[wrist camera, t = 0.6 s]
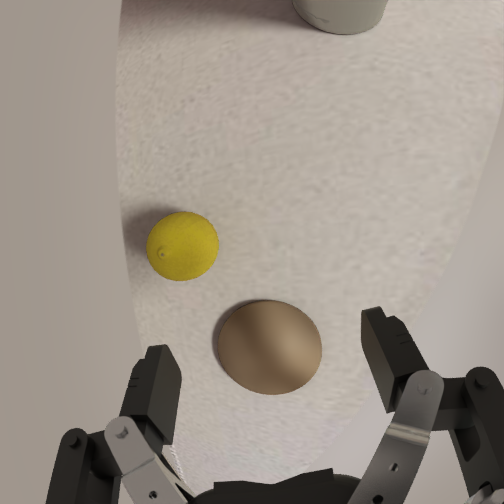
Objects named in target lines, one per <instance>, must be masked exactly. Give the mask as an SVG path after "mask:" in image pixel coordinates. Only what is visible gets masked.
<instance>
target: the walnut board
mask: <svg viewBox="0 0 504 504" xmlns="http://www.w3.org/2000/svg"><path fill="white" fill-rule="evenodd" d="M218 354H219V358H220V361H221V363H222V366H223V367H224V369H225V371H226V372H227V373H228V375H229V376H230V377H231V378H232V379H233V380H234V381H235V382H237V383H238V384H239V385H241V386H242V387H244V388H246V389H248V390H250V391H253V392H256V393H260V394H267V395H278V394H285V393H289V392H292V391H294V390H296V389H298V388H300V387H302V386H303V385H305V384H306V383H307V382H308V381H309V380H310V379H311V378H312V377H313V376H314V374H315V373H316V371H317V369H318V367H319V364H320V361H321V356H322V344H321V338H320V335H319V332H318V330H317V328H316V326H315V325H314V323H313V322H312V320H311V319H310V318H309V317H308V316H307V315H306V314H305V313H304V312H302V311H301V310H299V309H298V308H296V307H294V306H292V305H290V304H287V303H284V302H279V301H272V300H263V301H256V302H253V303H249V304H247V305H245V306H243V307H241V308H239V309H238V310H236V311H235V312H234V313H233V314H232V315H231V316H230V317H229V318H228V320H227V321H226V322H225V324H224V325H223V327H222V329H221V331H220V335H219V338H218Z"/></svg>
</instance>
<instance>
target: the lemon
mask: <svg viewBox="0 0 504 504" xmlns="http://www.w3.org/2000/svg"><path fill="white" fill-rule="evenodd" d="M218 249H219V240H218V236H217V232H216V231H215V229H214V227H213V225H212V224H211V223H210V222H209V221H208V220H207V219H205V218H204V217H202V216H201V215H198V214H195V213H192V212H178V213H174V214H170V215H168V216H166V217H165V218H163V219H161V220H160V221H159V222H158V223H157V224H156V225H155V226H154V227H153V229H152V230H151V232H150V234H149V236H148V239H147V245H146V251H147V257H148V259H149V262H150V264H151V266H152V267H153V269H154V270H155V271H156V272H157V273H158V274H159V275H161V276H163V277H165V278H167V279H170V280H174V281H187V280H191V279H194V278H197V277H199V276H200V275H202V274H204V273H205V272H206V271H207V270H208V269H209V268H210V267H211V266H212V265H213V263H214V261H215V259H216V257H217V254H218Z"/></svg>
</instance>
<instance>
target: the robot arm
mask: <svg viewBox="0 0 504 504" xmlns="http://www.w3.org/2000/svg"><path fill="white" fill-rule="evenodd" d="M292 1H293V5H294V7H295V9H296V11H297V12H298V14H299V15H300V16H301V17H302V18H303V19H304V20H305V21H307V22H308V23H309V24H311V25H313V26H314V27H316V28H318V29H321V30H324V31H326V32H331V33H335V34H357V33H361V32H365V31H367V30H369V29H371V28H373V27H374V26H375V25H376V24H377V23H378V22H379V21H380V19H381V18H382V15H383V13H384V10H385V7H386V4H387V1H388V0H292ZM361 343H362V348H363V351H364V354H365V356H366V359H367V362H368V364H369V367H370V369H371V372H372V375H373V377H374V380H375V383H376V385H377V388H378V390H379V393H380V396H381V399H382V402H383V404H384V407H385V410H386V413H390V412H394V411H395V414H394V416H393V419H392V421H391V423H390V425H389V427H388V428H387V429H386V432H385V433H384V436H383V438H382V440H381V442H380V444H379V446H378V448H377V450H376V452H375V454H374V456H373V458H372V460H371V462H370V464H369V466H368V468H367V470H366V472H365V474H364V475H363V477H362V479H359V478H356V477H353V476H349V475H341V474H333V469H332V468H329V469H325V470H319V471H314V472H309V473H303V474H300V475H297V476H295V477H292V478H290V479H287V480H284V481H281V482H279V483H276V484H263V483H255V482H248V481H227V482H214V489H211V490H208V491H205V492H203V493H201V494H199V495H198V496H196V495H195V494H194V492H193V491H192V490H191V489H190V488H189V487H188V486H187V485H186V484H185V483H184V481H183V480H182V479H181V477H180V476H179V475H178V473H177V472H176V470H175V469H174V468H173V466H172V465H171V464H170V462H169V461H168V459H167V458H166V456H165V455H164V454H163V452H162V448H163V445H172V443H173V436H174V429H175V422H176V415H177V408H178V401H179V395H180V388H181V382H182V376H181V371H180V368H179V366H178V364H177V362H176V360H175V358H174V357H173V355H172V353H171V351H170V349H169V347H168V346H167V345H166V344H164V345H156V346H149V347H148V349H147V352H146V355H145V359H140V360H139V361H138V362H137V364H136V365H135V366H134V368H133V370H132V373H131V376H130V380H129V383H128V388H127V390H126V394H125V397H124V401H123V404H122V407H121V411H120V415H119V417H117V418H115V419H113V420H111V421H110V422H109V424H108V425H107V426H106V428H105V430H103V431H100V432H96V433H92V434H87V433H86V432H85V431H83V430H82V429H80V428H74V429H71V430H69V431H67V432H66V433H65V435H64V436H63V437H62V439H61V443H60V446H59V450H58V454H57V457H56V461H55V465H54V469H53V473H52V477H51V482H50V486H49V490H48V495H47V500H46V504H118V499H119V491H120V483H121V480H122V483H123V484H124V486H125V488H126V490H127V492H128V494H129V495H130V497H131V499H132V500H133V502H134V504H403V502H404V500H405V498H406V496H407V494H408V492H409V489H410V487H411V485H412V483H413V480H414V478H415V476H416V473H417V471H418V469H419V466H420V464H421V461H422V459H423V456H424V454H425V451H426V448H427V445H428V443H429V439H430V437H429V436H430V433H431V431H441V430H448V431H449V434H450V437H451V439H452V442H453V445H454V448H455V451H456V454H457V457H458V460H459V464H460V467H461V470H462V473H463V476H464V480H465V483H466V486H467V490H468V494H469V499H468V500H467V501H466V502H465V503H464V504H504V389H503V387H502V385H501V383H500V381H499V379H498V378H497V376H496V374H495V373H494V372H493V371H492V370H491V369H489V368H486V367H476V368H473V369H471V370H470V371H469V372H468V373H467V375H466V377H462V378H442V377H441V376H440V375H439V374H437V373H436V372H434V371H431V370H429V368H428V366H427V364H426V362H425V361H424V359H423V357H422V355H421V353H420V351H419V350H418V348H417V346H416V344H415V342H414V341H413V339H412V337H411V335H410V334H409V331H408V330H407V328H406V326H405V324H404V323H403V322H402V321H401V320H399V319H398V318H397V317H395V316H390V317H386V316H385V314H384V312H383V310H382V308H381V307H380V306H378V307H374V308H370V309H366V310H362V313H361ZM121 475H123V476H121Z"/></svg>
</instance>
